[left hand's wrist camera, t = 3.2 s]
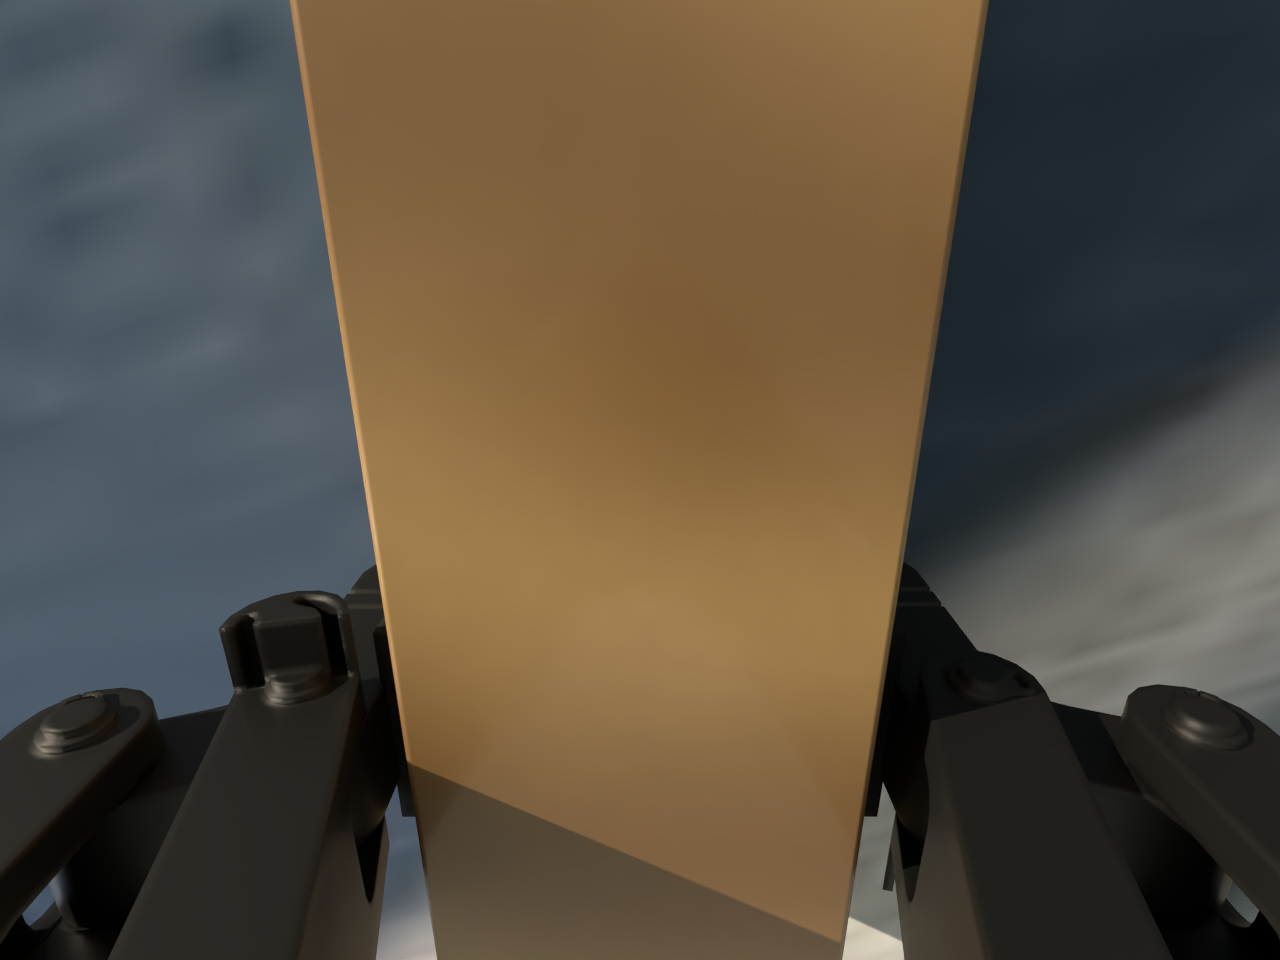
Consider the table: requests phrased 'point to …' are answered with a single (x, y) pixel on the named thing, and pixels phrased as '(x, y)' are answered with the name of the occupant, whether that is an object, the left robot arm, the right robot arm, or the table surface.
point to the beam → (639, 437)
